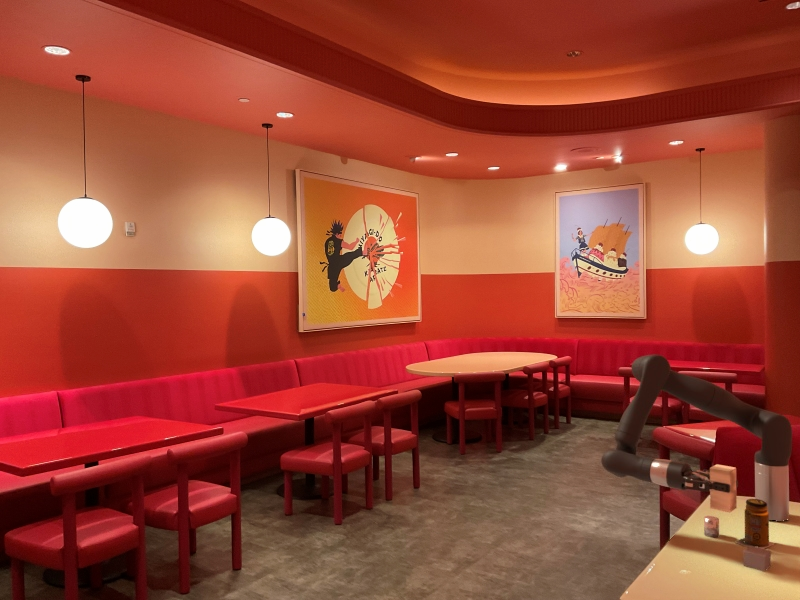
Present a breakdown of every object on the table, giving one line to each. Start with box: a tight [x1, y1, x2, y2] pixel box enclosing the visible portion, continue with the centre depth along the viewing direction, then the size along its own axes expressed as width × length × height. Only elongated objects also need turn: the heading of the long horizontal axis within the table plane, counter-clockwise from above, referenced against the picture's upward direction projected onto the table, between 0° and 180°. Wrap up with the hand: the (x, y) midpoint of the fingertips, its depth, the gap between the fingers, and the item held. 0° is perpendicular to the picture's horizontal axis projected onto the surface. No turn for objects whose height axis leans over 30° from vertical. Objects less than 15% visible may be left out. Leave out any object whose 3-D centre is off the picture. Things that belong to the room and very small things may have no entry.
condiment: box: [734, 498, 776, 550], centre depth 180 cm, size 7×8×12 cm
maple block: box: [709, 463, 738, 513], centre depth 172 cm, size 5×5×11 cm
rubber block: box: [742, 546, 772, 573], centre depth 166 cm, size 5×5×4 cm
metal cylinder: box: [703, 515, 720, 539], centre depth 187 cm, size 4×4×5 cm
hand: (733, 486), depth 170 cm, fingers closed on maple block, 5 cm apart
